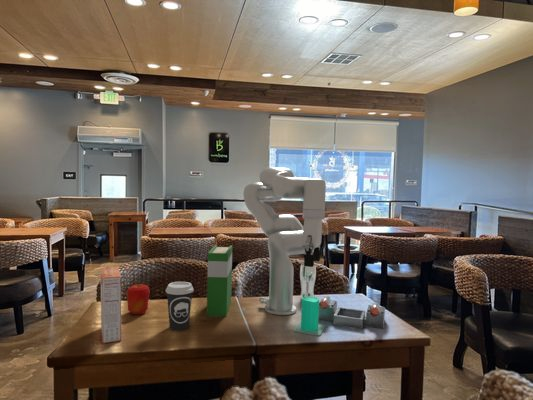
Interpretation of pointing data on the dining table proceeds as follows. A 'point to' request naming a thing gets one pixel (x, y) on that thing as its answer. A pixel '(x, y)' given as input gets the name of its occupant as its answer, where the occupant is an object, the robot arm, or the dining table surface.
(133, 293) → the apple
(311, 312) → the candle
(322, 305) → the left plunger
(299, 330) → the pad
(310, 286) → the beer glass
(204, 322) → the dining table surface
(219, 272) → the hardback book
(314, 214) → the robot arm
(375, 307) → the right plunger
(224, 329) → the dining table surface
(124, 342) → the dining table surface
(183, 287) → the coffee cup
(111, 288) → the cracker box
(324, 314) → the housing
